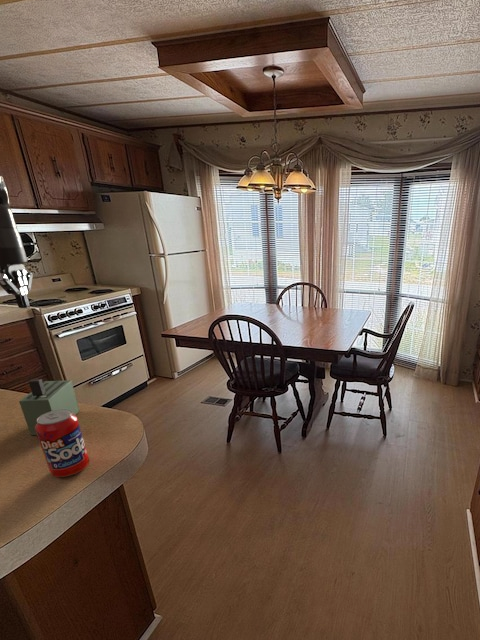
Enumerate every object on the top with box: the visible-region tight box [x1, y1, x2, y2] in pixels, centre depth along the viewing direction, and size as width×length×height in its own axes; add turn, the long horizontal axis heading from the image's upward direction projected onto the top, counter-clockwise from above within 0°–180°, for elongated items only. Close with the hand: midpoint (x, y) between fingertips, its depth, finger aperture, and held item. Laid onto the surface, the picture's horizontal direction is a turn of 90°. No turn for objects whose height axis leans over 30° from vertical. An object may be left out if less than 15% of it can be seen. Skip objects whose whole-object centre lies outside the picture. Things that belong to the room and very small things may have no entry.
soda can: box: [35, 409, 90, 478], centre depth 81 cm, size 8×8×15 cm
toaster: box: [18, 379, 81, 436], centre depth 100 cm, size 13×7×11 cm, turn 11°
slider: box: [28, 378, 46, 396], centre depth 94 cm, size 2×2×4 cm
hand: (24, 307), depth 101 cm, fingers closed
